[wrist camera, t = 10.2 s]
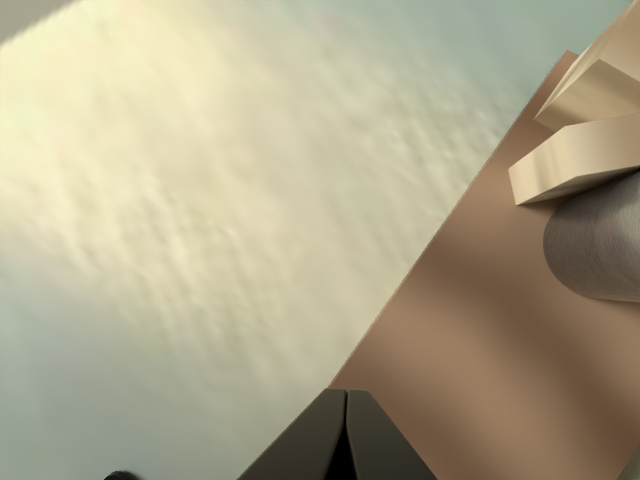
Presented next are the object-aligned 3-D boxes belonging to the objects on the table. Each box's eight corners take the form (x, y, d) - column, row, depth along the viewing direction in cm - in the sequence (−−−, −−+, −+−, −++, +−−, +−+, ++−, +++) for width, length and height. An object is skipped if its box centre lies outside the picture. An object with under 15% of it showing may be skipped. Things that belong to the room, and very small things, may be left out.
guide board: (476, 651, 17) (483, 675, 16) (263, 477, 19) (258, 489, 18) (788, 196, 18) (813, 191, 17) (557, 61, 19) (567, 49, 18)
